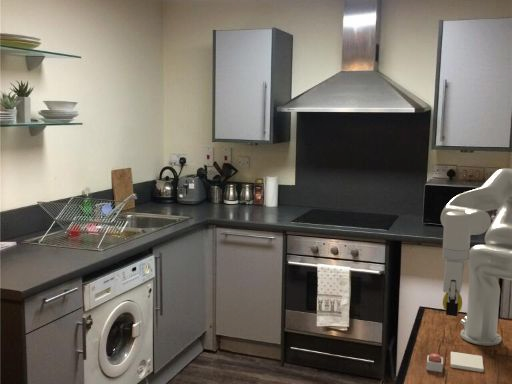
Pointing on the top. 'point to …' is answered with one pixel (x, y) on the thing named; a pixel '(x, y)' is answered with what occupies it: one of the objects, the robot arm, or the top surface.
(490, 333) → the robot arm
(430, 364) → the button base
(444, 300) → the lemon
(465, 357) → the paper pad
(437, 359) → the button
